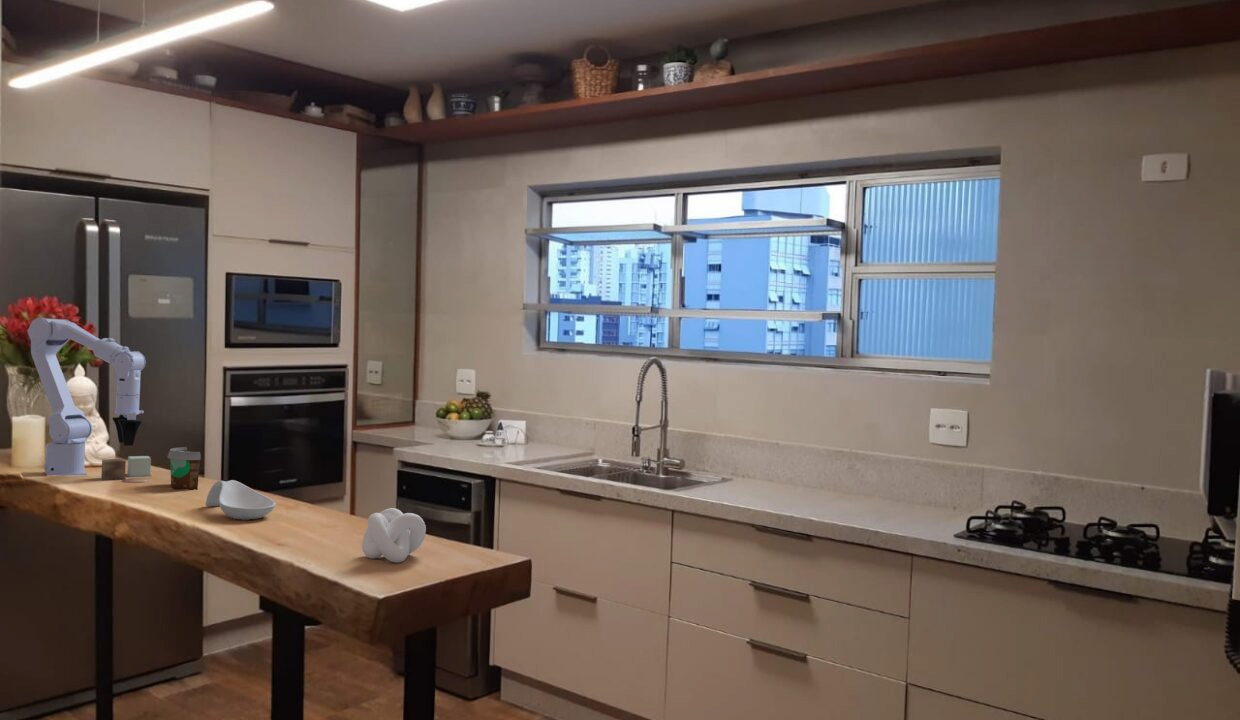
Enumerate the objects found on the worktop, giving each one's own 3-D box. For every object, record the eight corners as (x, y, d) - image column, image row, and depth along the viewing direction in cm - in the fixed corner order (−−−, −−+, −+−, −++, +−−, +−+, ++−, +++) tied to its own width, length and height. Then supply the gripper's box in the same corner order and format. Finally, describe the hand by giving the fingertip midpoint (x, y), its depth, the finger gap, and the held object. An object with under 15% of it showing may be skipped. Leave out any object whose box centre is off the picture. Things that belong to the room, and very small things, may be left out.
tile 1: (102, 481, 242) (102, 480, 242) (99, 478, 247) (99, 477, 247) (127, 480, 245) (127, 479, 245) (123, 477, 250) (123, 476, 250)
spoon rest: (284, 520, 204) (285, 488, 204) (232, 525, 195) (233, 492, 195) (238, 504, 220) (239, 475, 220) (188, 509, 211) (189, 478, 211)
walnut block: (103, 480, 242) (104, 461, 242) (101, 477, 247) (102, 459, 246) (124, 479, 245) (125, 461, 245) (122, 476, 250) (122, 458, 249)
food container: (160, 485, 241) (161, 447, 241) (184, 483, 245) (186, 447, 245) (174, 491, 232) (175, 453, 232) (199, 490, 236) (201, 452, 236)
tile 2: (128, 478, 250) (128, 476, 250) (125, 475, 255) (125, 474, 255) (152, 477, 254) (152, 476, 254) (148, 474, 258) (148, 473, 258)
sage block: (130, 476, 251) (130, 458, 251) (127, 474, 255) (128, 456, 255) (150, 475, 254) (150, 458, 254) (147, 473, 258) (147, 456, 258)
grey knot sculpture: (342, 557, 170) (344, 510, 170) (392, 548, 180) (394, 503, 180) (383, 568, 163) (385, 519, 163) (432, 557, 173) (434, 511, 173)
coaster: (124, 484, 239) (124, 482, 239) (120, 480, 245) (120, 478, 245) (154, 483, 243) (154, 481, 243) (149, 479, 249) (149, 477, 249)
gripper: (149, 396, 246) (147, 446, 246) (139, 393, 258) (137, 440, 258) (120, 396, 242) (117, 447, 242) (111, 393, 253) (109, 441, 253)
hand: (125, 443), depth 250 cm, fingers open, 7 cm apart
